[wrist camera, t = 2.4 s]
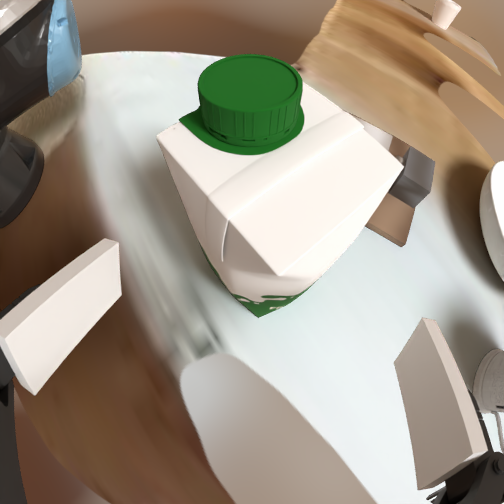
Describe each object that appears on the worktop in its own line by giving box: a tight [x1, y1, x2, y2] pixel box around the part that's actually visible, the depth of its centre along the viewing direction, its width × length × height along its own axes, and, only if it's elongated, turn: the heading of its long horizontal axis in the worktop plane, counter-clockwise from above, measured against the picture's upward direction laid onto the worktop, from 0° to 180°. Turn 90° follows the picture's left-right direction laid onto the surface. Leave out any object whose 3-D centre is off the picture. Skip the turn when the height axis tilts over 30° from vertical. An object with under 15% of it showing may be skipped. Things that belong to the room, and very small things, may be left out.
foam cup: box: [431, 0, 461, 29], centre depth 51 cm, size 10×9×13 cm
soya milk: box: [156, 54, 404, 318], centre depth 18 cm, size 9×9×20 cm
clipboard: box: [343, 110, 435, 247], centre depth 30 cm, size 25×15×5 cm, turn 61°
